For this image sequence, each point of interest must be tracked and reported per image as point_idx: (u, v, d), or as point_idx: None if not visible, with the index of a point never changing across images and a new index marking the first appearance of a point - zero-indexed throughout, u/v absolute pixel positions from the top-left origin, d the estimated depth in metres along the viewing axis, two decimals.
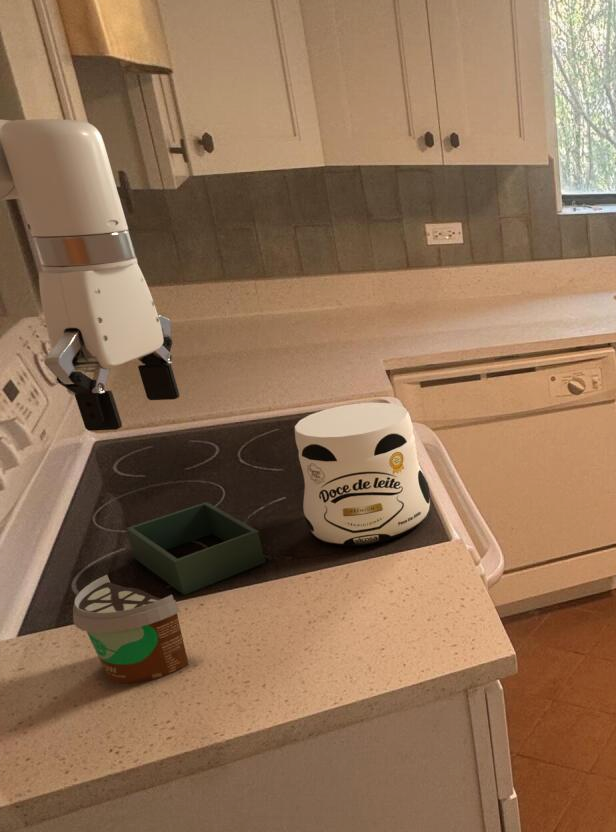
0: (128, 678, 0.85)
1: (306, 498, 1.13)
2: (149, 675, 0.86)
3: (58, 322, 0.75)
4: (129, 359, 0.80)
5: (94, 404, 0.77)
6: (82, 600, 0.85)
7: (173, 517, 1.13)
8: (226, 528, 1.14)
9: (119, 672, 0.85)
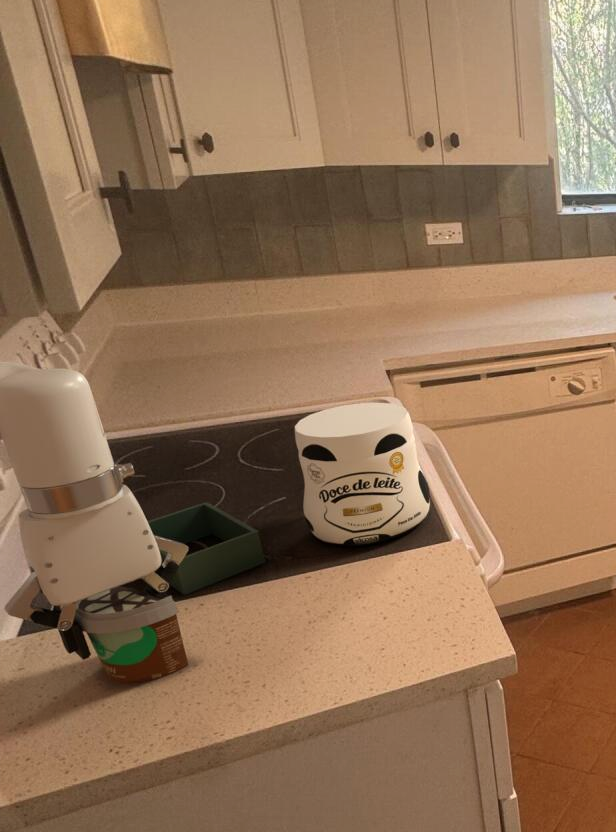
0: (127, 679, 0.85)
1: (306, 498, 1.13)
2: (149, 675, 0.86)
3: (26, 559, 0.79)
4: (93, 593, 0.81)
5: (63, 636, 0.81)
6: (82, 601, 0.85)
7: (173, 517, 1.13)
8: (226, 528, 1.14)
9: (119, 672, 0.85)
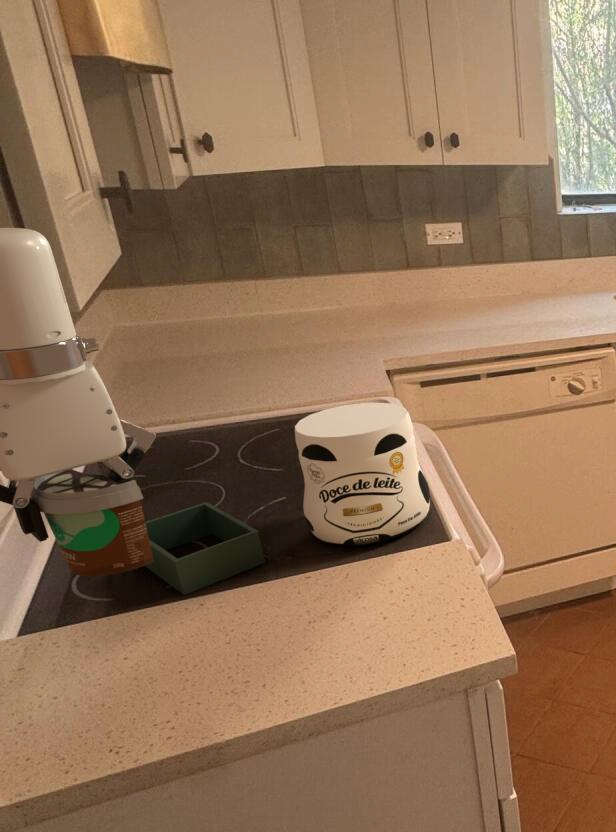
0: (88, 566, 0.81)
1: (306, 498, 1.13)
2: (110, 564, 0.82)
3: None
4: (52, 471, 0.77)
5: (19, 515, 0.77)
6: (41, 484, 0.81)
7: (173, 517, 1.13)
8: (226, 528, 1.14)
9: (78, 559, 0.81)
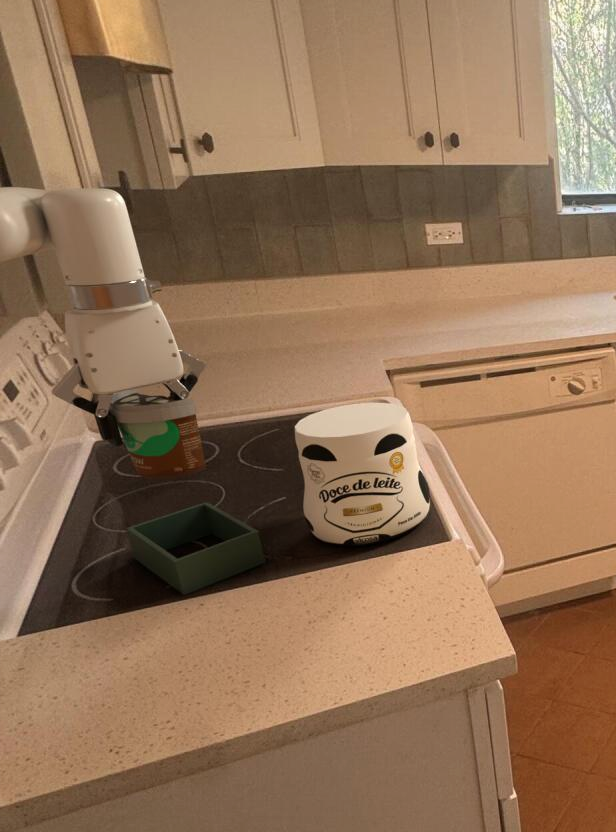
0: (153, 469, 0.99)
1: (306, 498, 1.13)
2: (171, 468, 0.99)
3: (70, 352, 0.92)
4: (126, 387, 0.95)
5: (100, 424, 0.95)
6: (115, 402, 0.99)
7: (173, 517, 1.13)
8: (226, 528, 1.14)
9: (146, 463, 0.99)
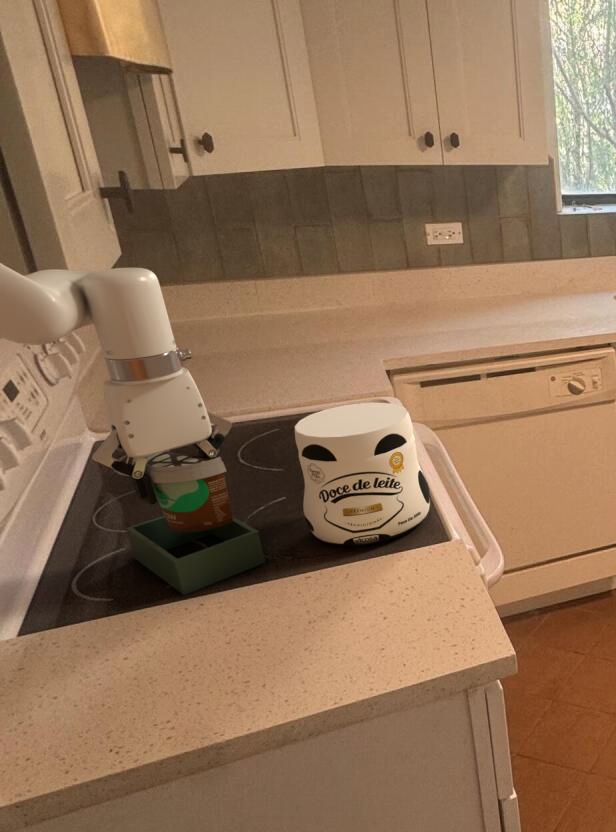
0: (185, 524, 1.06)
1: (306, 498, 1.13)
2: (202, 522, 1.06)
3: (109, 419, 0.99)
4: (160, 450, 1.02)
5: (136, 484, 1.02)
6: (148, 461, 1.06)
7: None
8: (226, 528, 1.14)
9: (178, 519, 1.06)
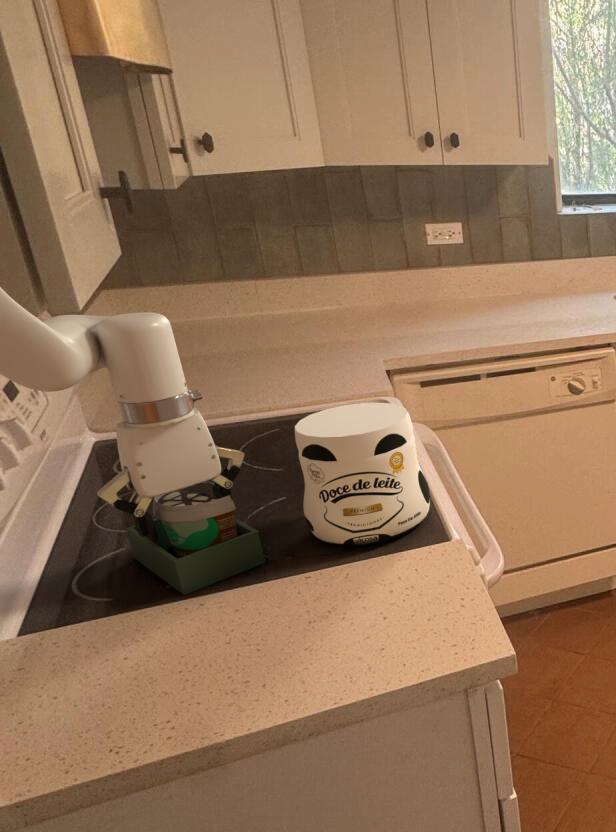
0: None
1: (306, 498, 1.13)
2: None
3: (121, 460, 1.01)
4: (171, 490, 1.04)
5: (137, 522, 1.03)
6: (159, 500, 1.08)
7: None
8: None
9: None
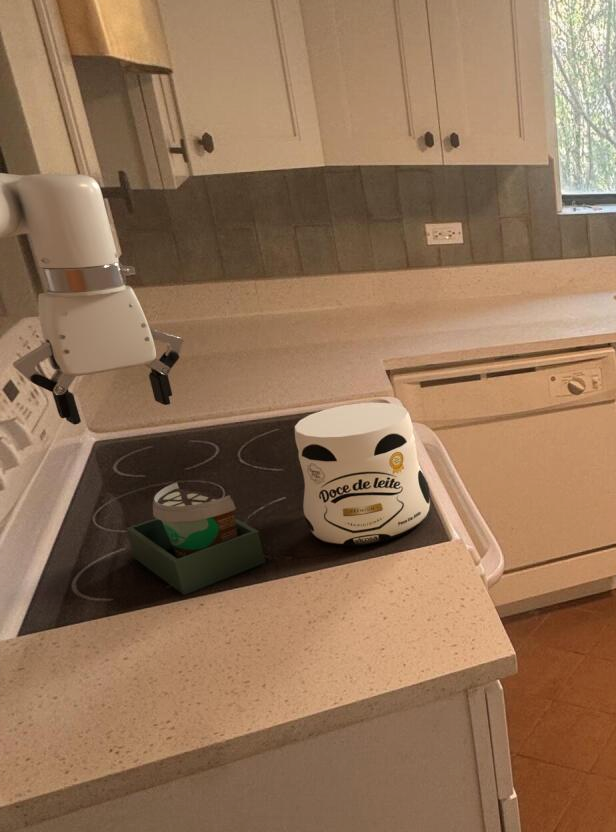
0: None
1: (306, 498, 1.13)
2: None
3: (43, 333, 0.94)
4: (98, 370, 0.97)
5: (58, 402, 0.95)
6: (159, 500, 1.08)
7: None
8: None
9: None
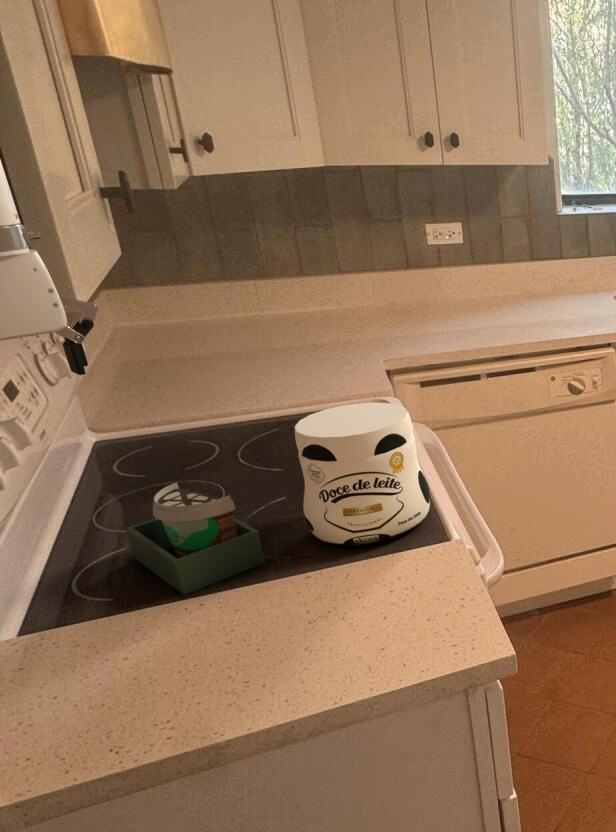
0: None
1: (306, 498, 1.13)
2: None
3: None
4: (2, 337, 0.93)
5: None
6: (159, 500, 1.08)
7: None
8: None
9: None
